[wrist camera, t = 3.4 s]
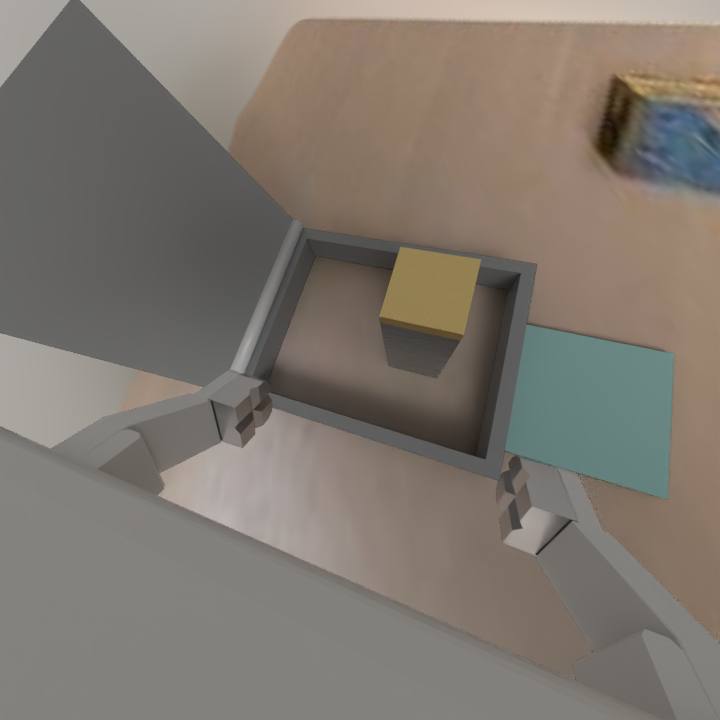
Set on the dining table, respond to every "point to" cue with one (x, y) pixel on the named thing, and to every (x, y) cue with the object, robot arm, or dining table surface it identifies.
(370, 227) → the dining table surface
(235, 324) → the case
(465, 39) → the dining table surface
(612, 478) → the pad
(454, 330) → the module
